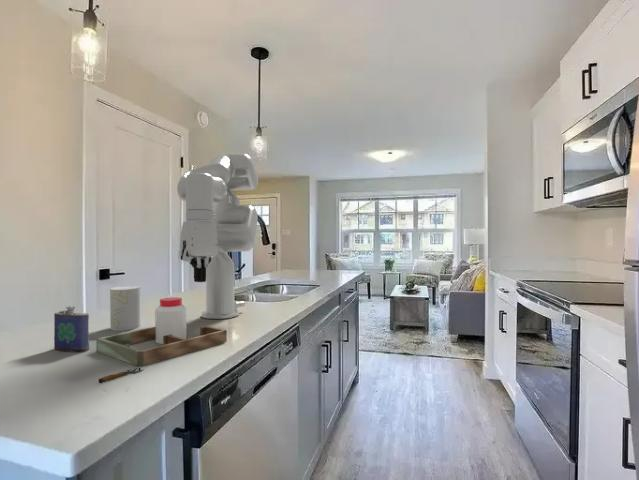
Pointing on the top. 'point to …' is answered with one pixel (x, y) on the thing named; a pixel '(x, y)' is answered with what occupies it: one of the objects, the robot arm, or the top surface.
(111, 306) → the cup
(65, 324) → the flask
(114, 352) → the wooden frame
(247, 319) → the top surface
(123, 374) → the can opener
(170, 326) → the pill bottle
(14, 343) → the top surface
